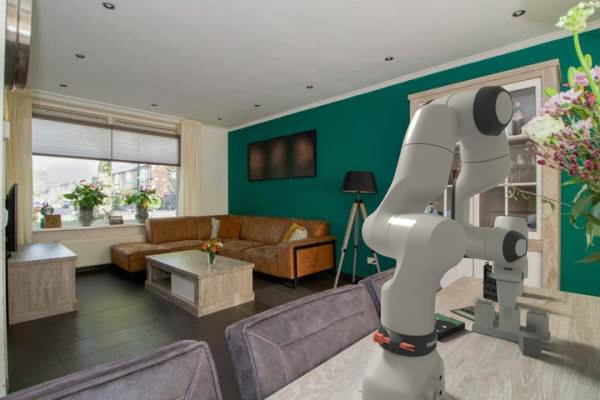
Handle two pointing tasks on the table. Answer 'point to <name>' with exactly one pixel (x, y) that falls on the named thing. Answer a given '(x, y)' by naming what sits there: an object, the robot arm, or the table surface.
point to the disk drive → (447, 326)
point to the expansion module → (511, 325)
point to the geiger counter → (489, 283)
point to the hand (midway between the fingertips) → (508, 315)
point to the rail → (490, 326)
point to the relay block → (530, 344)
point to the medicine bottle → (521, 289)
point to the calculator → (469, 313)
